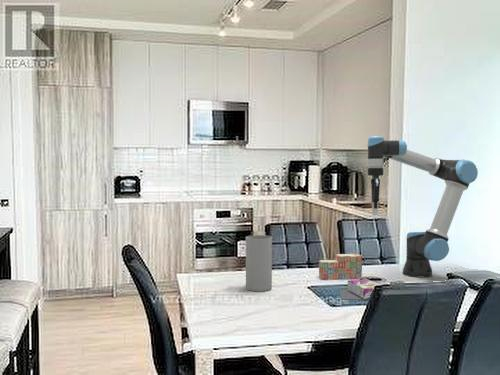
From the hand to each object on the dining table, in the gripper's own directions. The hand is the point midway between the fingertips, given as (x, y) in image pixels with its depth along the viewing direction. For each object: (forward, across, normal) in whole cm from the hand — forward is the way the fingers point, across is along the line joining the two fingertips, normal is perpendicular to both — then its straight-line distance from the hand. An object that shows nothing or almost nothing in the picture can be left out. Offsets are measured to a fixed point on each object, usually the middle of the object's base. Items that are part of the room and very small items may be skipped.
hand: (375, 214), depth 254 cm
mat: (+34, +24, -11) cm, 43 cm away
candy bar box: (+32, +15, -10) cm, 36 cm away
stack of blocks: (+35, -10, -16) cm, 40 cm away
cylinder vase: (+35, +16, -57) cm, 69 cm away
